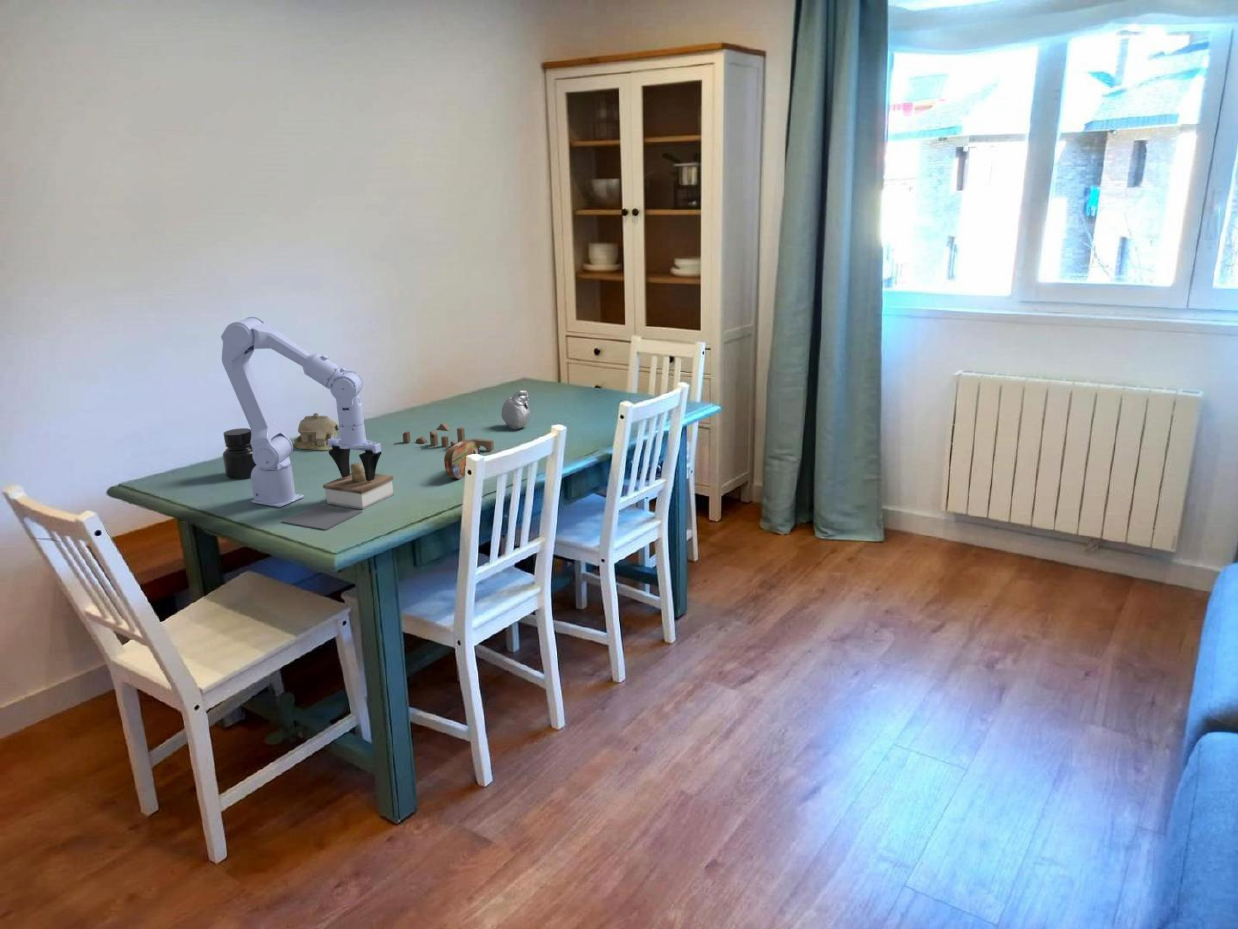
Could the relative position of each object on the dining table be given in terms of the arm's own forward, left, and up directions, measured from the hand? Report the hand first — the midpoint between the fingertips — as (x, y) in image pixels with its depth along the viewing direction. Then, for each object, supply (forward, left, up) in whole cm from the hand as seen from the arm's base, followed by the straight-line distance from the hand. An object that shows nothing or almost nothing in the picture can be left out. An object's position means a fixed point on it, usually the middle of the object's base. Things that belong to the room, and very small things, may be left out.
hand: (358, 478), depth 208 cm
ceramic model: (-44, +33, -6) cm, 55 cm away
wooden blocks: (-7, +46, -6) cm, 47 cm away
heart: (+1, +71, -6) cm, 71 cm away
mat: (0, -13, -5) cm, 14 cm away
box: (0, 0, -5) cm, 5 cm away
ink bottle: (-43, +4, -6) cm, 44 cm away
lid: (0, 0, -1) cm, 1 cm away
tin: (+12, +26, -6) cm, 29 cm away
